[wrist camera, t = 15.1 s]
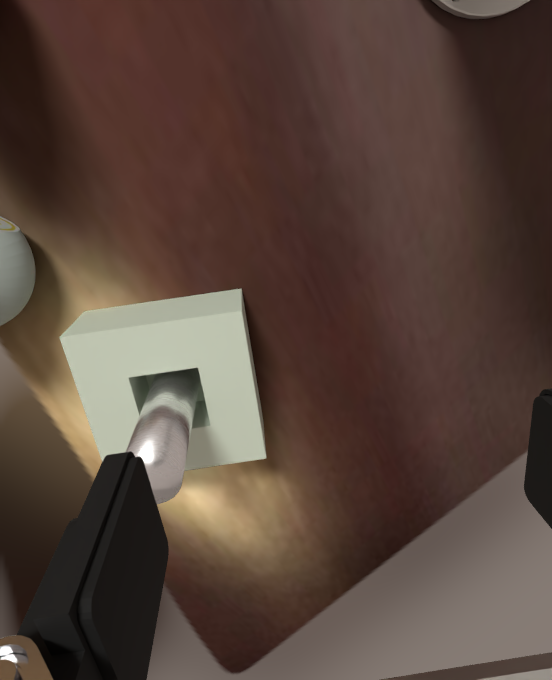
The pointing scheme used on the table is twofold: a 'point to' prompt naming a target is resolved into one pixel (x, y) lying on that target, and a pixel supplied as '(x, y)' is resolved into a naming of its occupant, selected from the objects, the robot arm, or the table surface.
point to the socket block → (164, 356)
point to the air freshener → (14, 271)
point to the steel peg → (166, 430)
